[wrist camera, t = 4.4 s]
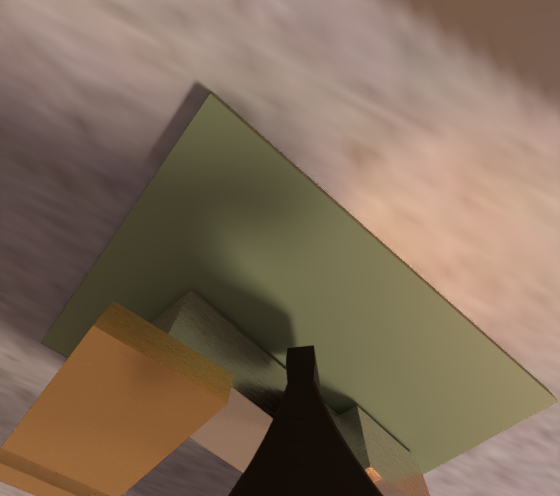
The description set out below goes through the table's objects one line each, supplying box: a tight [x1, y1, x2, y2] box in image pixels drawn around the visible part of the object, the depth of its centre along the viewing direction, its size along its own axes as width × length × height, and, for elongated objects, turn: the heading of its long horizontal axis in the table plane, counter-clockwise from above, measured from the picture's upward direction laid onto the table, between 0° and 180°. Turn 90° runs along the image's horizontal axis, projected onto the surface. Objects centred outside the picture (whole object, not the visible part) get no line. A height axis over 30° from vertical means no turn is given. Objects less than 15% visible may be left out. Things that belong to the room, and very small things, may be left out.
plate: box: [41, 94, 558, 474], centre depth 14 cm, size 13×19×1 cm, turn 49°
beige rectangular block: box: [151, 290, 430, 496], centre depth 13 cm, size 14×5×3 cm, turn 42°
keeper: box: [0, 301, 233, 496], centre depth 11 cm, size 8×4×4 cm, turn 139°
